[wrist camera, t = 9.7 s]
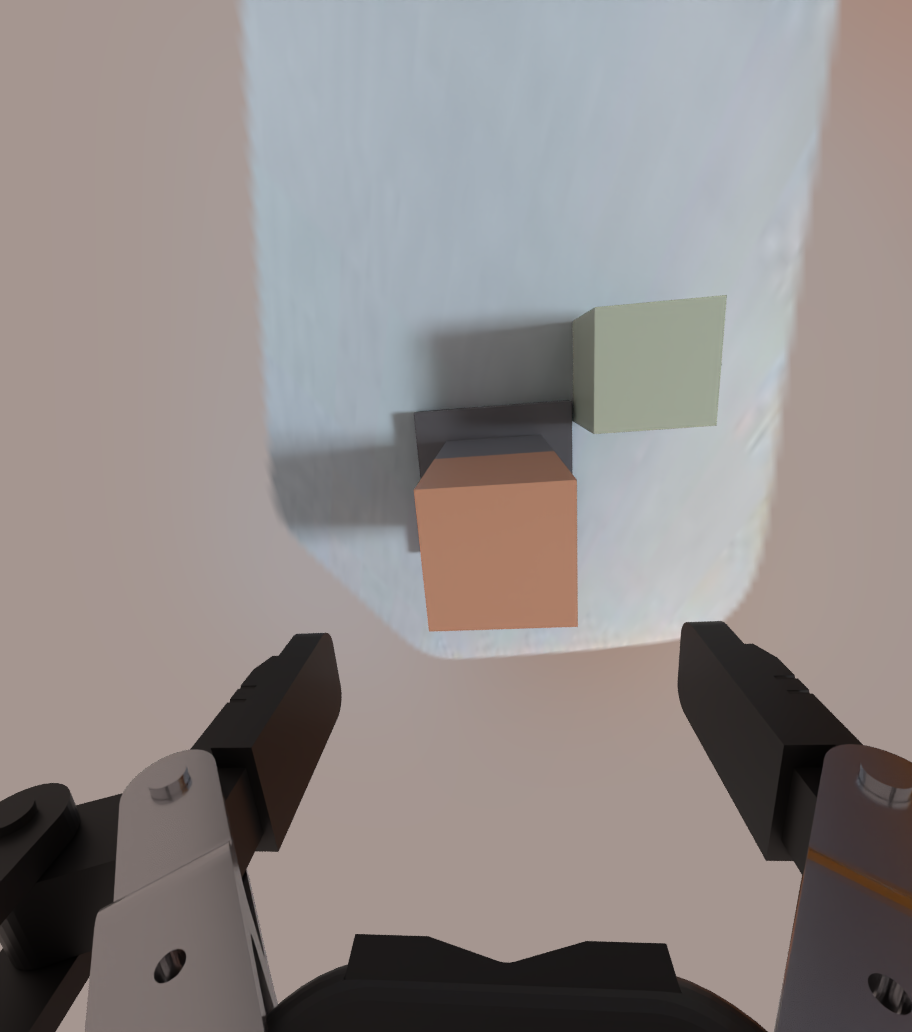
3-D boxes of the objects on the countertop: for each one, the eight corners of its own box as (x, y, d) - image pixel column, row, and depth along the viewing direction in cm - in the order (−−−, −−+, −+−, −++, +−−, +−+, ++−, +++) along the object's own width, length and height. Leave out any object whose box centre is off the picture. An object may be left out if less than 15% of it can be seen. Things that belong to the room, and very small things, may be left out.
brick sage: (572, 321, 26) (594, 307, 20) (674, 312, 26) (726, 295, 20) (572, 421, 28) (594, 433, 22) (669, 414, 27) (716, 425, 22)
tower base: (416, 411, 28) (392, 424, 22) (568, 400, 27) (593, 408, 21) (430, 551, 31) (413, 601, 24) (570, 544, 30) (592, 594, 23)
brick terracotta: (434, 459, 22) (413, 489, 16) (554, 450, 21) (576, 479, 16) (444, 568, 23) (429, 631, 18) (556, 563, 23) (577, 626, 17)
